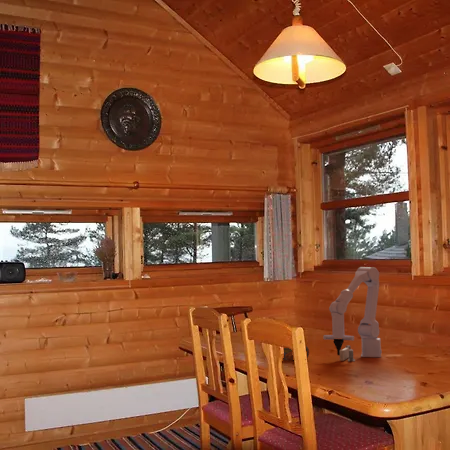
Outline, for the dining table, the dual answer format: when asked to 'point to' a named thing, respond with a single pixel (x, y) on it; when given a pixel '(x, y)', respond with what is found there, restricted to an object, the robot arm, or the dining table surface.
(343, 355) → the lipped cream column
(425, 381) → the dining table surface
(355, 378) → the dining table surface
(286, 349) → the tin
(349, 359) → the latch block
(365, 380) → the dining table surface
